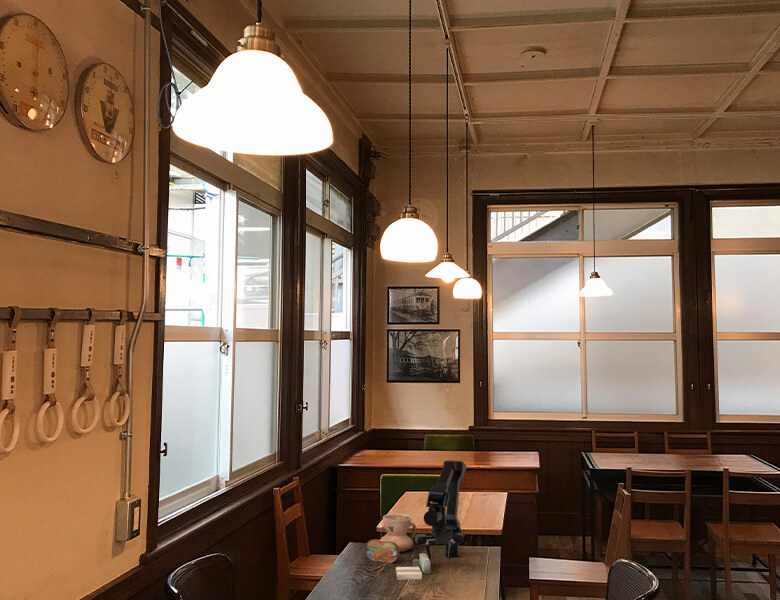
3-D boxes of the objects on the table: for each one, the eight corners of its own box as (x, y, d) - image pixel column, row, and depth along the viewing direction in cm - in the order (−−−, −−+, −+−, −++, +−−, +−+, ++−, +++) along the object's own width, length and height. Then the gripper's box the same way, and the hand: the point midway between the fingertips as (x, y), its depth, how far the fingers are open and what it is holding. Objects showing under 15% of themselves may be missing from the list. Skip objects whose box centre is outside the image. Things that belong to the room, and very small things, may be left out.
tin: (364, 559, 290) (364, 538, 290) (368, 557, 292) (368, 537, 293) (396, 564, 283) (397, 543, 283) (400, 562, 285) (400, 541, 286)
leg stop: (412, 566, 280) (412, 559, 280) (417, 566, 280) (417, 559, 280) (413, 568, 278) (413, 560, 278) (418, 568, 278) (418, 560, 278)
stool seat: (395, 572, 272) (395, 567, 273) (418, 571, 273) (418, 566, 273) (398, 579, 264) (398, 574, 264) (421, 579, 264) (421, 573, 265)
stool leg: (431, 573, 270) (431, 562, 270) (424, 573, 270) (424, 562, 270) (425, 563, 283) (425, 552, 283) (419, 563, 283) (419, 552, 283)
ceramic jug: (384, 556, 294) (385, 522, 295) (371, 547, 307) (372, 514, 308) (423, 552, 301) (424, 519, 302) (409, 543, 314) (409, 511, 315)
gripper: (418, 526, 272) (419, 567, 271) (465, 524, 274) (466, 565, 272) (414, 519, 283) (415, 559, 282) (460, 518, 285) (460, 557, 283)
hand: (439, 560), depth 279 cm, fingers open, 7 cm apart
